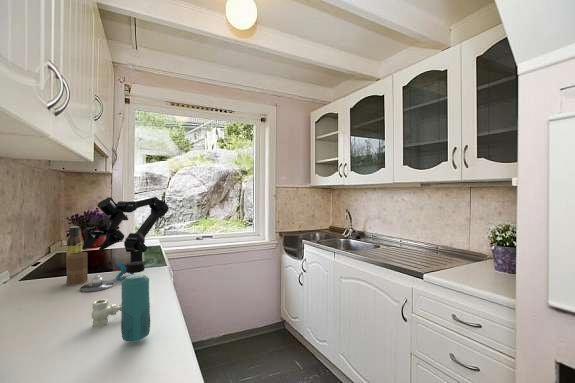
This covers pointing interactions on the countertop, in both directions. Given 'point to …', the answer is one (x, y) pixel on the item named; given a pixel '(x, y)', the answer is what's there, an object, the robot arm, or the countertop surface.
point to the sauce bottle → (73, 241)
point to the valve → (103, 312)
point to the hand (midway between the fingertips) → (91, 249)
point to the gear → (121, 271)
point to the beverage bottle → (135, 304)
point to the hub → (96, 285)
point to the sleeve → (77, 268)
